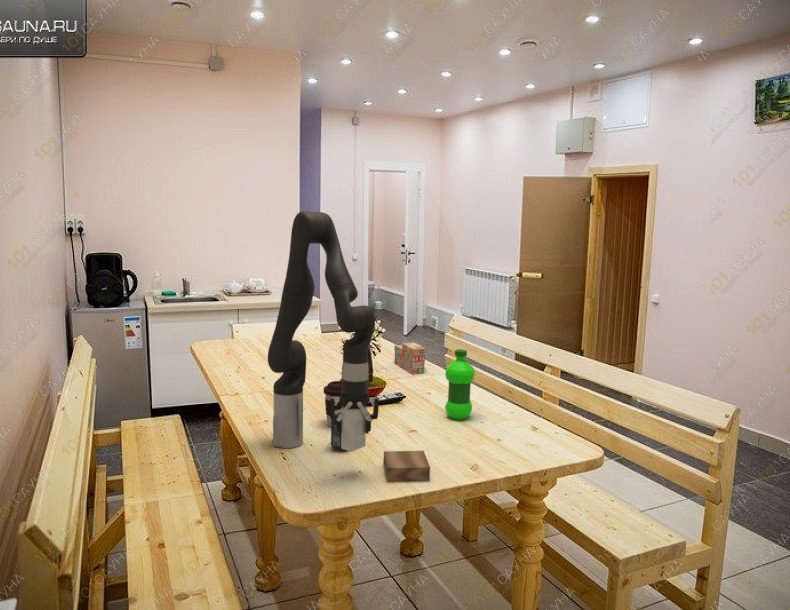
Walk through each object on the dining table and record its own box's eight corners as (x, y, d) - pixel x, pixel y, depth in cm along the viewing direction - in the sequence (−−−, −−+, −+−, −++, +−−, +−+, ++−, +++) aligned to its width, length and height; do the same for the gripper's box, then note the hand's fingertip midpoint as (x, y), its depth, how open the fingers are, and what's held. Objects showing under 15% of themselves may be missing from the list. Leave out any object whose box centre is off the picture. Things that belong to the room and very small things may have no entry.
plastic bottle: (474, 414, 234) (477, 348, 230) (469, 423, 224) (472, 355, 220) (447, 411, 237) (449, 346, 233) (441, 420, 227) (444, 352, 223)
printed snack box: (394, 363, 306) (394, 338, 304) (405, 362, 308) (406, 338, 306) (412, 375, 286) (412, 348, 284) (424, 374, 289) (425, 347, 287)
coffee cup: (325, 431, 214) (326, 388, 212) (321, 421, 223) (321, 380, 221) (354, 428, 217) (355, 386, 214) (348, 419, 226) (349, 378, 224)
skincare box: (354, 442, 184) (356, 403, 182) (365, 446, 181) (367, 406, 179) (340, 448, 179) (341, 408, 177) (351, 452, 177) (352, 411, 174)
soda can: (353, 444, 203) (353, 408, 201) (352, 452, 196) (353, 415, 194) (331, 443, 203) (331, 408, 201) (330, 452, 196) (330, 415, 194)
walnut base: (387, 481, 176) (387, 468, 176) (383, 464, 188) (383, 451, 187) (429, 480, 178) (430, 467, 177) (423, 463, 189) (423, 450, 189)
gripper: (329, 380, 172) (328, 437, 175) (381, 380, 174) (379, 437, 176) (329, 372, 179) (328, 428, 182) (379, 373, 181) (377, 427, 184)
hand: (353, 432), depth 179 cm, fingers closed on skincare box, 7 cm apart
